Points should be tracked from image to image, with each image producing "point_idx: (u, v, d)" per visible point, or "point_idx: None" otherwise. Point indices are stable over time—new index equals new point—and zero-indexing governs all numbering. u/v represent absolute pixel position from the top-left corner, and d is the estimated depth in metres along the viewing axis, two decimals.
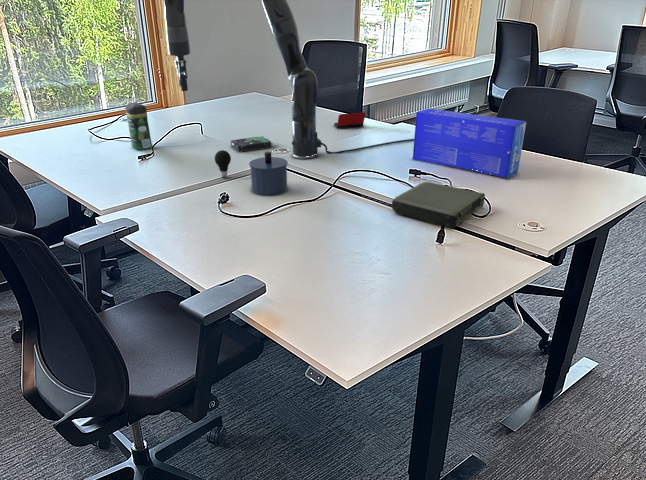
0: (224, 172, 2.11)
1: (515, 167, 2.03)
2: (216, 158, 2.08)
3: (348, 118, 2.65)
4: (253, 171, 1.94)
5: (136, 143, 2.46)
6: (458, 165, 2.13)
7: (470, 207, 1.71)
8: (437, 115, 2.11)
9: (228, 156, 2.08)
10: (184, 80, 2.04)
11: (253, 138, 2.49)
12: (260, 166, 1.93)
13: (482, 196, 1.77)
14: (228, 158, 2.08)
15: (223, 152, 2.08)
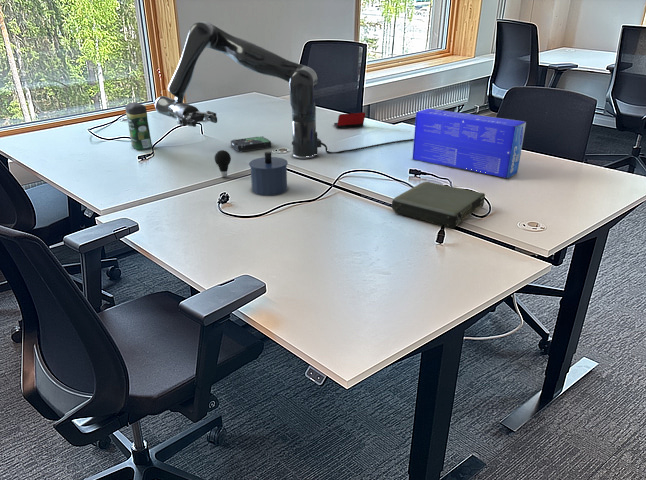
0: (224, 172, 2.11)
1: (514, 167, 2.03)
2: (216, 158, 2.08)
3: (348, 118, 2.65)
4: (253, 171, 1.94)
5: (136, 143, 2.46)
6: (458, 165, 2.13)
7: (470, 207, 1.71)
8: (437, 115, 2.11)
9: (228, 156, 2.08)
10: (187, 121, 2.12)
11: (253, 138, 2.49)
12: (260, 166, 1.93)
13: (482, 196, 1.77)
14: (228, 158, 2.08)
15: (223, 152, 2.08)
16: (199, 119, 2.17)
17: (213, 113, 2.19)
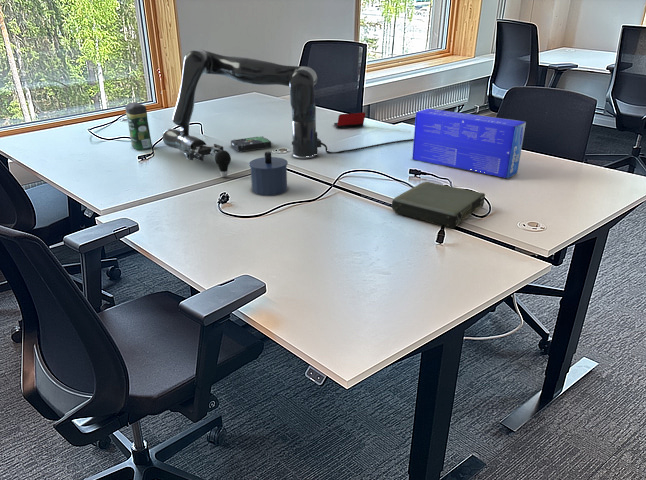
0: (224, 172, 2.11)
1: (514, 167, 2.03)
2: (216, 158, 2.08)
3: (348, 118, 2.65)
4: (253, 171, 1.94)
5: (136, 143, 2.46)
6: (458, 165, 2.13)
7: (470, 207, 1.71)
8: (437, 115, 2.11)
9: (228, 156, 2.08)
10: (195, 156, 2.16)
11: (253, 138, 2.49)
12: (260, 166, 1.93)
13: (482, 196, 1.77)
14: (228, 158, 2.08)
15: (223, 152, 2.08)
16: (206, 153, 2.21)
17: (220, 146, 2.22)
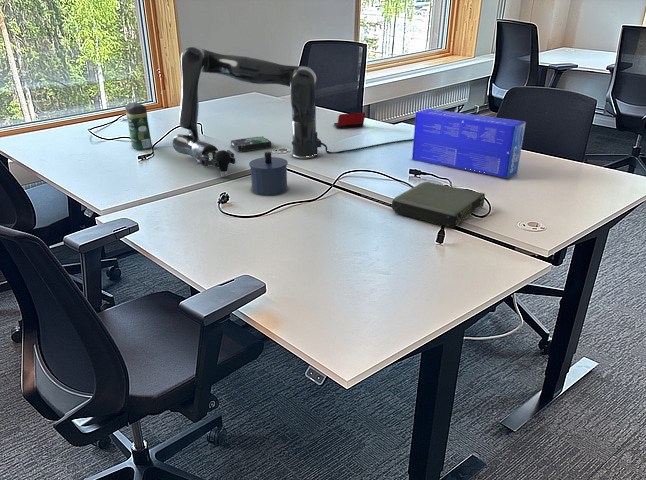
0: (224, 172, 2.11)
1: (514, 167, 2.03)
2: (216, 158, 2.08)
3: (348, 118, 2.65)
4: (253, 171, 1.94)
5: (136, 143, 2.46)
6: (457, 165, 2.13)
7: (470, 207, 1.71)
8: (436, 115, 2.11)
9: (228, 156, 2.08)
10: (210, 162, 2.09)
11: (253, 138, 2.49)
12: (260, 166, 1.93)
13: (482, 196, 1.77)
14: (228, 158, 2.08)
15: (223, 152, 2.08)
16: None
17: (231, 153, 2.14)
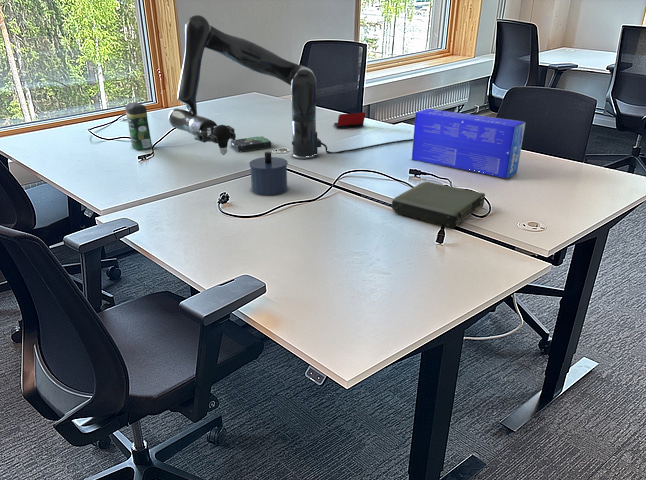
0: (223, 149, 1.96)
1: (514, 167, 2.03)
2: (215, 133, 1.93)
3: (348, 118, 2.65)
4: (253, 171, 1.94)
5: (136, 143, 2.46)
6: (457, 165, 2.13)
7: (470, 207, 1.71)
8: (436, 115, 2.11)
9: (228, 131, 1.93)
10: (208, 137, 1.94)
11: (253, 138, 2.49)
12: (260, 166, 1.93)
13: (482, 196, 1.77)
14: (228, 133, 1.93)
15: (222, 127, 1.92)
16: None
17: (231, 129, 1.99)
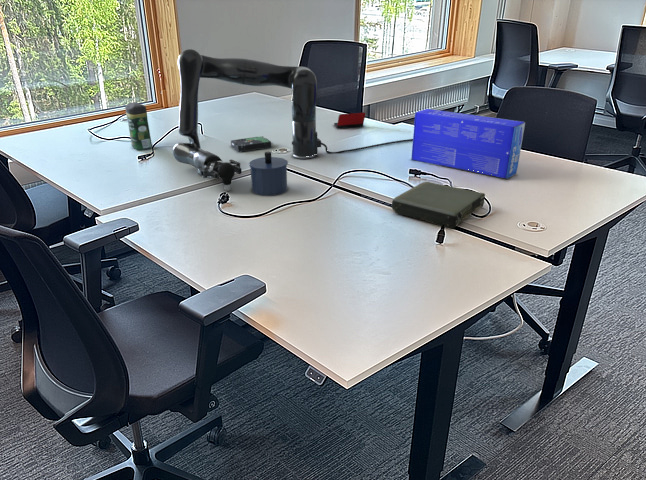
0: (228, 185, 1.99)
1: (514, 167, 2.03)
2: (219, 171, 1.95)
3: (348, 118, 2.65)
4: (253, 171, 1.94)
5: (136, 143, 2.46)
6: (457, 165, 2.12)
7: (470, 207, 1.71)
8: (436, 115, 2.11)
9: (232, 169, 1.96)
10: (209, 173, 1.96)
11: (253, 138, 2.49)
12: (260, 166, 1.93)
13: (482, 196, 1.77)
14: (232, 171, 1.95)
15: (227, 164, 1.95)
16: None
17: (237, 163, 2.02)
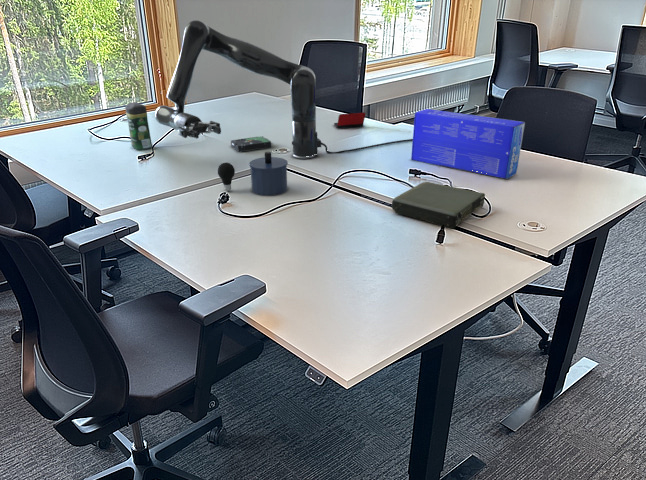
0: (228, 185, 1.99)
1: (513, 168, 2.03)
2: (219, 171, 1.95)
3: (348, 118, 2.65)
4: (253, 171, 1.94)
5: (136, 143, 2.46)
6: (457, 165, 2.12)
7: (470, 207, 1.71)
8: (436, 116, 2.11)
9: (232, 169, 1.96)
10: (189, 133, 2.00)
11: (253, 138, 2.49)
12: (260, 166, 1.93)
13: (482, 196, 1.77)
14: (232, 171, 1.95)
15: (227, 164, 1.95)
16: (202, 130, 2.05)
17: (216, 123, 2.06)
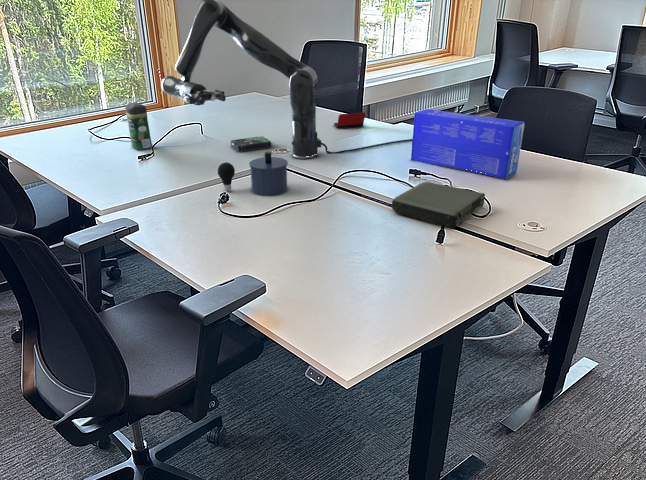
0: (228, 185, 1.99)
1: (513, 168, 2.03)
2: (219, 171, 1.95)
3: (348, 118, 2.65)
4: (253, 171, 1.94)
5: (136, 143, 2.46)
6: (456, 165, 2.12)
7: (470, 207, 1.71)
8: (435, 116, 2.11)
9: (232, 169, 1.96)
10: (195, 99, 2.07)
11: (253, 138, 2.49)
12: (260, 166, 1.93)
13: (482, 196, 1.77)
14: (232, 171, 1.95)
15: (227, 164, 1.95)
16: (207, 97, 2.12)
17: (221, 91, 2.13)
